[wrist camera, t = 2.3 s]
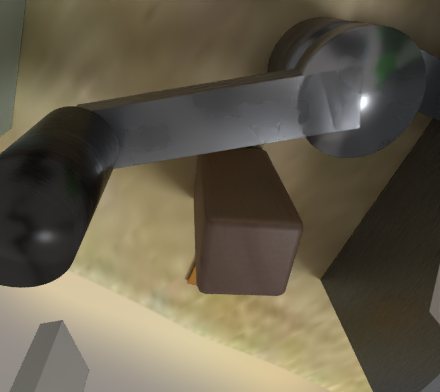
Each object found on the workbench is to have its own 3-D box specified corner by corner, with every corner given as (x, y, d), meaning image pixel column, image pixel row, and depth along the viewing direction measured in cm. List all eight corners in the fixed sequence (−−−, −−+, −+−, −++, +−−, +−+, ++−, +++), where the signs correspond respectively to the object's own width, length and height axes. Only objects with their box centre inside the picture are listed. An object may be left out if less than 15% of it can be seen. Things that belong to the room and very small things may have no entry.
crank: (414, 12, 13) (629, 27, 7) (398, 135, 16) (543, 231, 9) (27, 77, 13) (-124, 152, 7) (74, 189, 16) (-5, 322, 9)
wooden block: (193, 201, 22) (195, 297, 15) (199, 141, 20) (205, 219, 13) (255, 205, 22) (286, 299, 15) (267, 147, 20) (308, 225, 13)
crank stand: (344, -115, 14) (580, -283, 6) (599, 41, 19) (958, 78, 10) (174, 277, 24) (166, 429, 16) (363, 321, 29) (439, 461, 20)
